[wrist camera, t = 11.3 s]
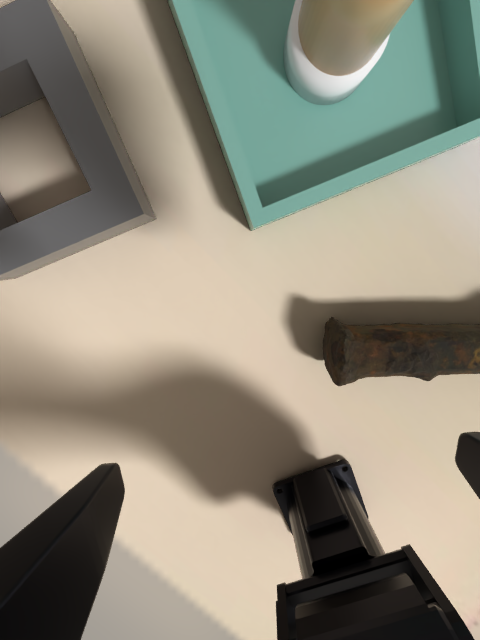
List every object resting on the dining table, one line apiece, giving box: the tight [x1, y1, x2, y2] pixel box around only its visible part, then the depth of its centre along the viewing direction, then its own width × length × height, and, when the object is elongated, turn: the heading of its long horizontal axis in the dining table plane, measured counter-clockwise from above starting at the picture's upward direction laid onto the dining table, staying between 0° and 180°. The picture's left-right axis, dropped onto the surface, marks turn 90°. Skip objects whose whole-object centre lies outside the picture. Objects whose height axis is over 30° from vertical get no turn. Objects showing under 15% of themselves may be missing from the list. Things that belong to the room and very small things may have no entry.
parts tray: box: [167, 0, 480, 231], centre depth 14 cm, size 14×14×2 cm
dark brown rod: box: [323, 317, 480, 386], centre depth 18 cm, size 19×4×5 cm, turn 88°
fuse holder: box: [0, 0, 156, 281], centre depth 15 cm, size 10×10×2 cm
